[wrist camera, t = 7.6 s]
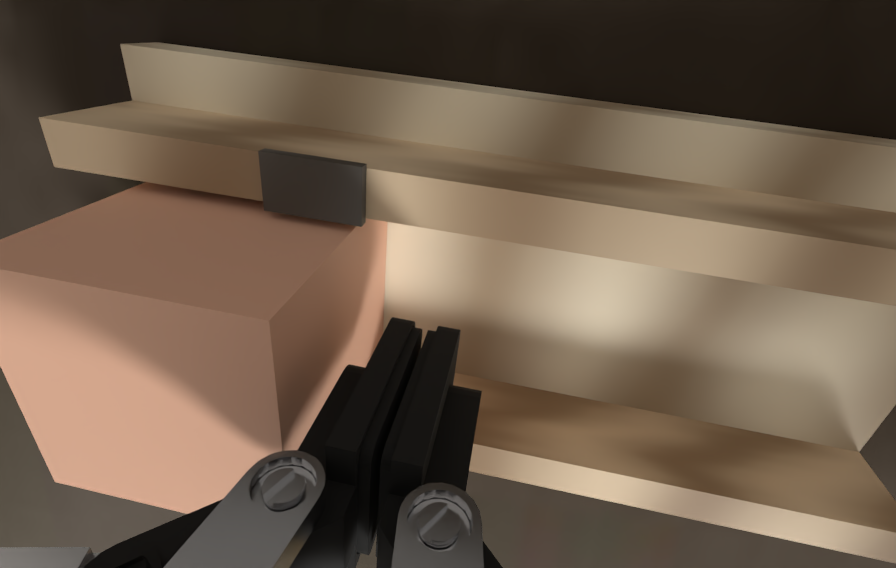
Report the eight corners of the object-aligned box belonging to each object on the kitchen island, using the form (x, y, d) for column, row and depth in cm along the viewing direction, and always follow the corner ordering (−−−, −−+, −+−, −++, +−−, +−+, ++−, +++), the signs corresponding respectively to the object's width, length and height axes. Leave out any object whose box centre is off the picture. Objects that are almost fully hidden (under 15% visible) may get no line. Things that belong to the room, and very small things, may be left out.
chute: (1018, 156, 12) (1266, 224, 8) (798, 470, 18) (874, 602, 14) (157, 42, 15) (3, 48, 10) (213, 351, 20) (129, 434, 16)
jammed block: (388, 191, 14) (268, 321, 8) (382, 353, 17) (291, 538, 11) (198, 161, 14) (-50, 259, 8) (224, 323, 17) (55, 481, 11)
